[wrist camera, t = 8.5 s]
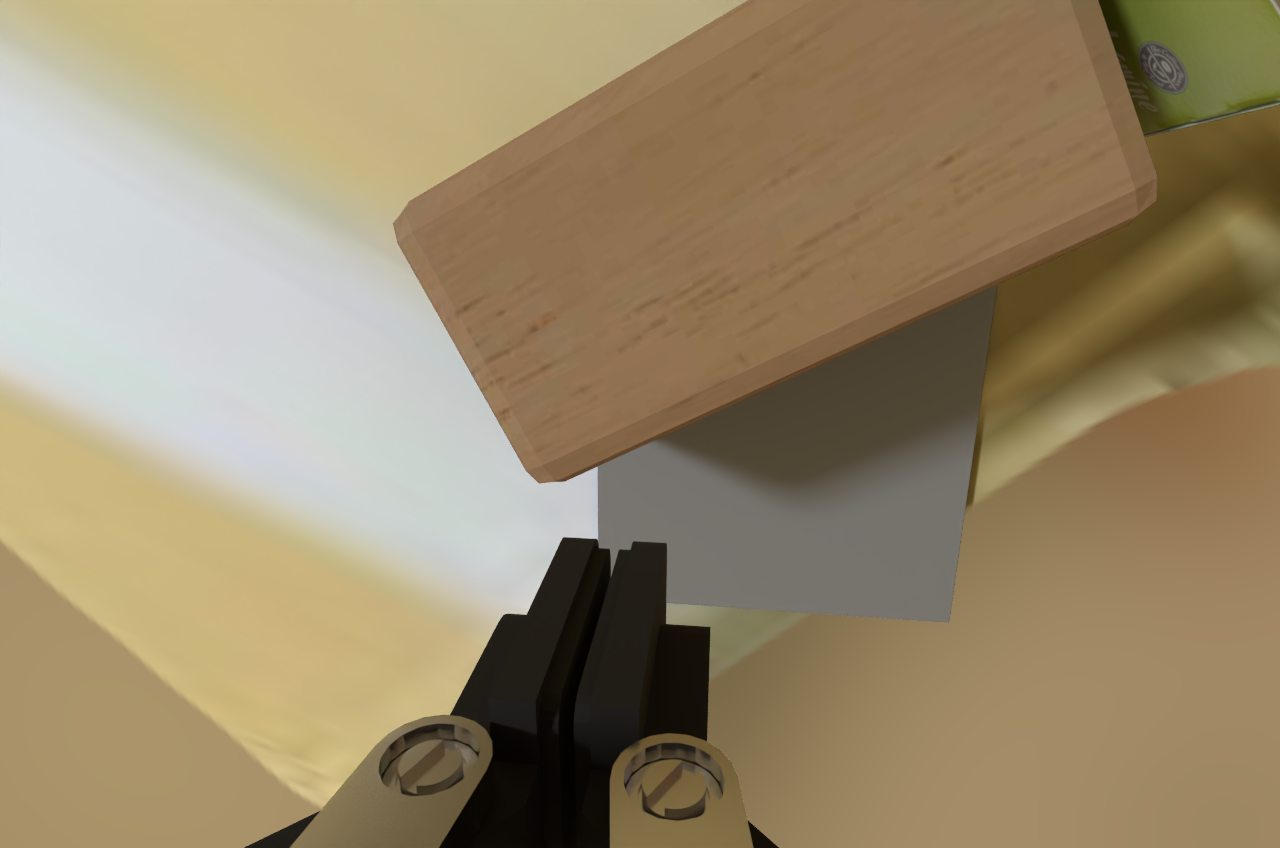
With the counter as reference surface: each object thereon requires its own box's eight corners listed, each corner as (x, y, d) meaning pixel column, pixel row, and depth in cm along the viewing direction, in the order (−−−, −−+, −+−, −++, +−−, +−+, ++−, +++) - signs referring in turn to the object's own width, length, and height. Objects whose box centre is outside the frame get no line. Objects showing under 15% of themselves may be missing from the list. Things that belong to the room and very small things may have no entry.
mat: (596, 111, 30) (594, 110, 29) (1018, 108, 28) (1022, 107, 27) (600, 594, 36) (598, 598, 35) (946, 617, 34) (948, 622, 33)
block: (589, 420, 33) (1033, 210, 28) (530, 504, 23) (1188, 207, 19) (480, 216, 31) (937, -45, 26) (367, 216, 21) (1055, -194, 17)
